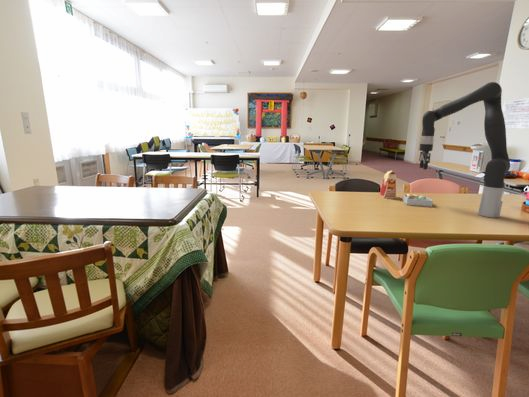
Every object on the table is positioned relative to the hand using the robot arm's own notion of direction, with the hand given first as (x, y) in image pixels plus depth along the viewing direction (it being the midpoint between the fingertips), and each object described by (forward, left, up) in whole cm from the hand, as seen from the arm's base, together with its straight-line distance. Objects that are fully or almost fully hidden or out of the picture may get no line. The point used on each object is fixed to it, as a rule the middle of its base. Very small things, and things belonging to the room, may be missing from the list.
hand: (423, 168), depth 191 cm
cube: (+5, +2, -23) cm, 23 cm away
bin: (+1, +1, -23) cm, 23 cm away
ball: (-2, +2, -23) cm, 23 cm away
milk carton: (+17, -13, -24) cm, 32 cm away
